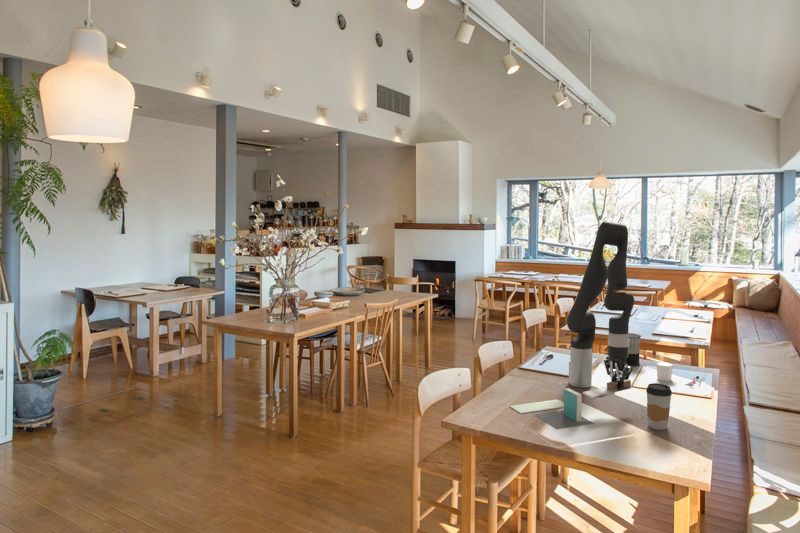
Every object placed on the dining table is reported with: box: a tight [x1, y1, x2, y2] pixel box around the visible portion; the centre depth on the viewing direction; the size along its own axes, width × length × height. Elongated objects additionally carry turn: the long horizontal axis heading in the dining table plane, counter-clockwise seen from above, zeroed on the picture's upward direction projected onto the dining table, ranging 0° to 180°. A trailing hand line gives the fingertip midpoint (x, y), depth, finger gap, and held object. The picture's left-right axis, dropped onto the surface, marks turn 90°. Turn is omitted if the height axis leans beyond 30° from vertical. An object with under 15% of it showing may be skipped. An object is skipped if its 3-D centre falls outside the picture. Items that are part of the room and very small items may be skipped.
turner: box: [582, 379, 632, 400], centre depth 219 cm, size 19×6×3 cm, turn 109°
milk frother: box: [605, 332, 642, 367], centre depth 286 cm, size 14×16×15 cm
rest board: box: [509, 399, 564, 415], centre depth 227 cm, size 8×22×1 cm, turn 109°
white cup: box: [656, 361, 674, 382], centre depth 262 cm, size 7×7×7 cm
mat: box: [533, 409, 594, 430], centre depth 214 cm, size 15×16×1 cm
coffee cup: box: [646, 382, 672, 431], centre depth 206 cm, size 8×8×15 cm
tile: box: [563, 387, 583, 422], centre depth 214 cm, size 8×2×10 cm, turn 19°
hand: (617, 388), depth 220 cm, fingers closed on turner, 2 cm apart
